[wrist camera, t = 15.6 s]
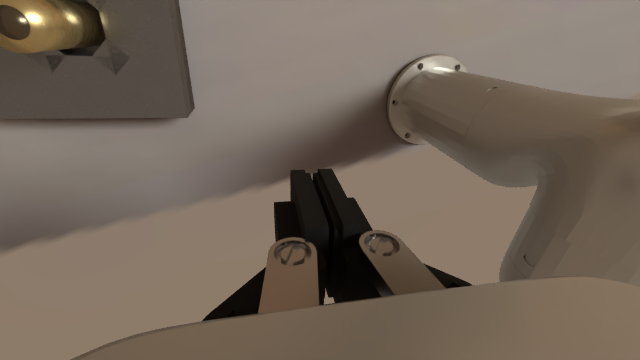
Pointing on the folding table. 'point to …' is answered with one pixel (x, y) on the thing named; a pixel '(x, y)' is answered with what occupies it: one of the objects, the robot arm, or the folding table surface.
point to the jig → (106, 69)
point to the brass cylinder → (48, 25)
